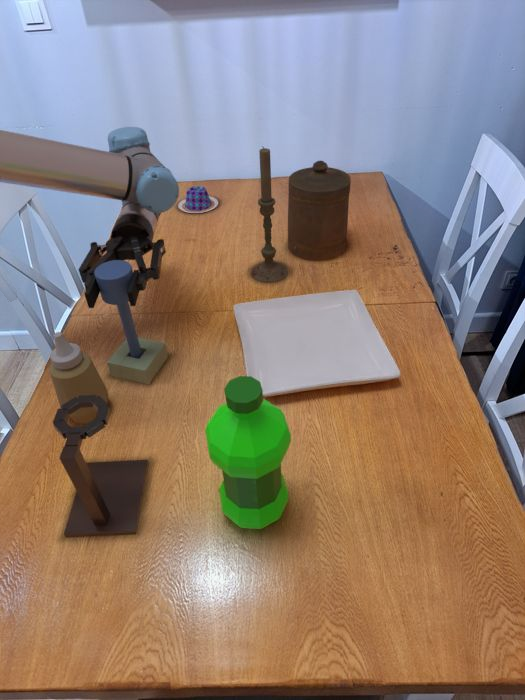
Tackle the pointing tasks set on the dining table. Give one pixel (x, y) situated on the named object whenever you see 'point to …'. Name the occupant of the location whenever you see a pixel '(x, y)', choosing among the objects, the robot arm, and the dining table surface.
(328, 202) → the wooden container
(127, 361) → the socket block
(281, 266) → the candlestick holder
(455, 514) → the dining table surface
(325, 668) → the dining table surface
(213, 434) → the plastic bottle
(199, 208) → the pudding
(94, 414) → the squeeze bottle
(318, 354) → the square plate
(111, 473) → the peg stand
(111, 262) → the peg
